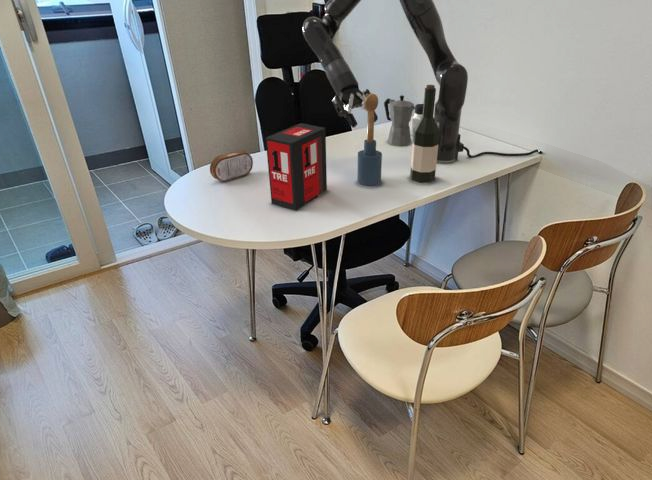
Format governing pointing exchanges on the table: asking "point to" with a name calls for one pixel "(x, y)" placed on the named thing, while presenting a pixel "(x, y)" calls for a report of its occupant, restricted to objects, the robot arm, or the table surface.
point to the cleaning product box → (297, 165)
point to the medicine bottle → (417, 116)
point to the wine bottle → (425, 141)
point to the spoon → (370, 114)
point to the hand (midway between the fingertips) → (365, 123)
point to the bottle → (369, 165)
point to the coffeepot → (399, 121)
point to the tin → (231, 165)
